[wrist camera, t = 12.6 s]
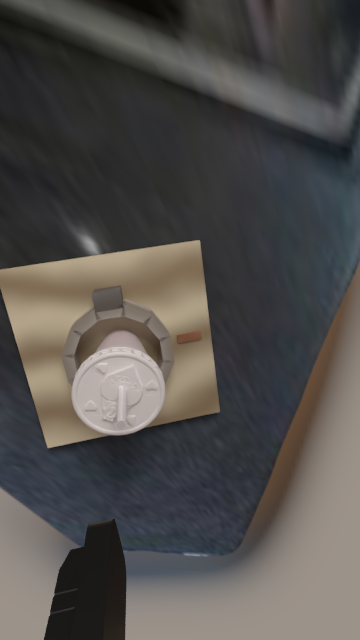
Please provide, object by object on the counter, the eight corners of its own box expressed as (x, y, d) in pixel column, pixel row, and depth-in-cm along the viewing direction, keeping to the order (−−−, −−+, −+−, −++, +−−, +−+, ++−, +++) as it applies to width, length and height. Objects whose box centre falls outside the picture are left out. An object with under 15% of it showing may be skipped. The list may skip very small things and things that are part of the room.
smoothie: (165, 330, 31) (193, 402, 18) (139, 387, 33) (146, 494, 19) (103, 304, 30) (83, 362, 17) (77, 364, 31) (38, 464, 18)
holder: (0, 269, 29) (-18, 274, 25) (197, 240, 31) (206, 241, 27) (50, 440, 34) (41, 465, 30) (217, 406, 36) (226, 424, 32)
